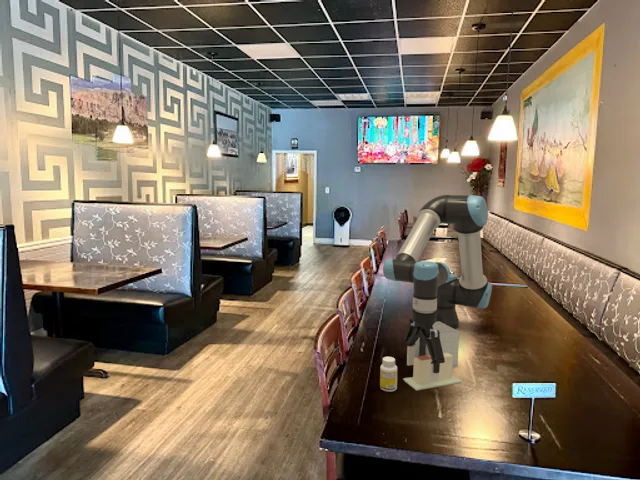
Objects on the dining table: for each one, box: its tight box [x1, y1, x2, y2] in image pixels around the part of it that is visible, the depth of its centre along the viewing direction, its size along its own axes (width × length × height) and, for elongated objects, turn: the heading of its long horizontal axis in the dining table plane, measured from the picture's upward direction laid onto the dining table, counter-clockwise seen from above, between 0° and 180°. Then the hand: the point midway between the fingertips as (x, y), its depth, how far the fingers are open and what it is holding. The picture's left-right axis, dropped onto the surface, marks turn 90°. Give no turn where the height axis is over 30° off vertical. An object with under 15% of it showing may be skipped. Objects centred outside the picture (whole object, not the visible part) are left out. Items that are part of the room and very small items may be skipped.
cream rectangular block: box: [412, 353, 453, 385], centre depth 146 cm, size 13×3×8 cm, turn 110°
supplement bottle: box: [379, 356, 398, 393], centre depth 141 cm, size 5×5×10 cm
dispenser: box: [413, 321, 460, 368], centre depth 161 cm, size 12×12×13 cm
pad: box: [402, 374, 462, 391], centre depth 147 cm, size 17×8×1 cm, turn 110°
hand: (421, 372), depth 145 cm, fingers open, 13 cm apart
